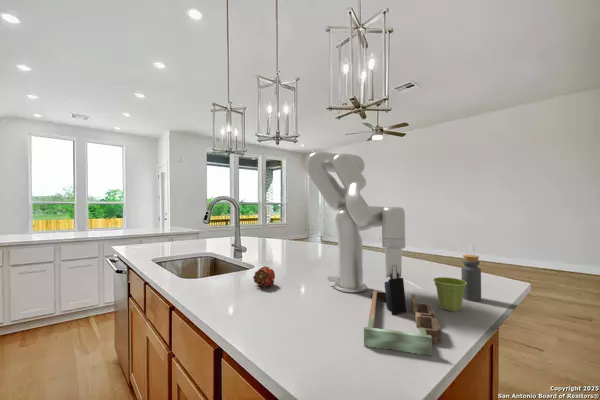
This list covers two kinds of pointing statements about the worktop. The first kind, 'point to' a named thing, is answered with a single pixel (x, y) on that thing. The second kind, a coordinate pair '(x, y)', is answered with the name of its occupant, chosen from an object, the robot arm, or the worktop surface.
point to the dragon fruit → (264, 277)
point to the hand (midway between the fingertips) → (394, 296)
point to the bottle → (471, 278)
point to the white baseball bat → (412, 283)
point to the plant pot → (450, 292)
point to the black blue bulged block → (395, 296)
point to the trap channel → (405, 340)
